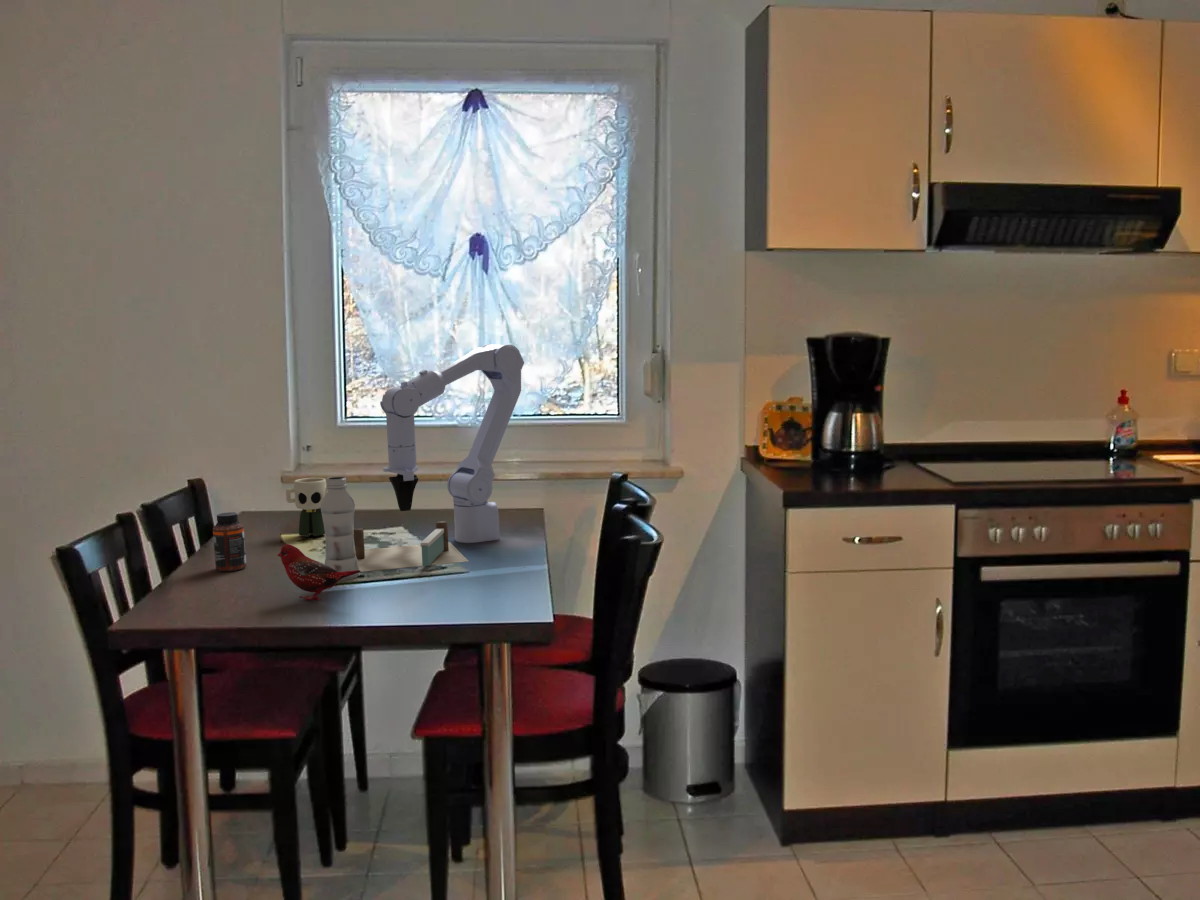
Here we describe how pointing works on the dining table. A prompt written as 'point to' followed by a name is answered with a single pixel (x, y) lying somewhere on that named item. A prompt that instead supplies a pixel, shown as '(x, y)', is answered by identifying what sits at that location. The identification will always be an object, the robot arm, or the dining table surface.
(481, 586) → the dining table surface
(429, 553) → the gate
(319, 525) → the character mug
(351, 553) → the plastic bottle
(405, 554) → the gate frame
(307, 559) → the decorative bird figurine
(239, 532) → the supplement bottle
